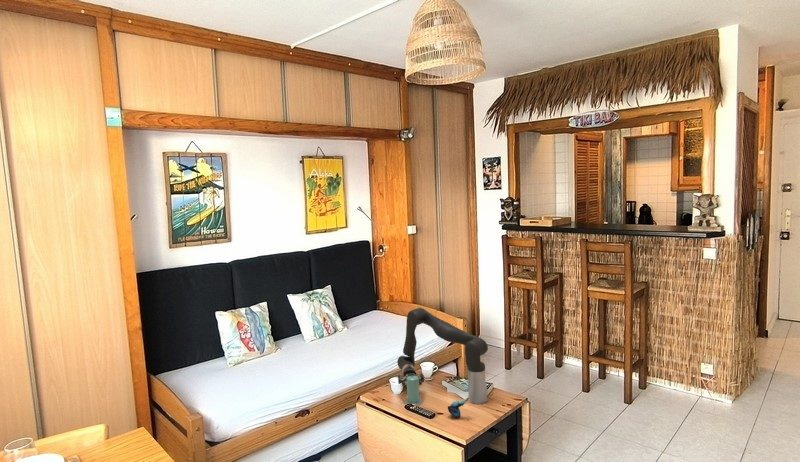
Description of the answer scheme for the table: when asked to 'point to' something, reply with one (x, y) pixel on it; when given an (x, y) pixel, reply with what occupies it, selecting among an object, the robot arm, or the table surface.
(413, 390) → the green cylinder
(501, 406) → the table surface
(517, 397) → the table surface
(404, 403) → the slate plate
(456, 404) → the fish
